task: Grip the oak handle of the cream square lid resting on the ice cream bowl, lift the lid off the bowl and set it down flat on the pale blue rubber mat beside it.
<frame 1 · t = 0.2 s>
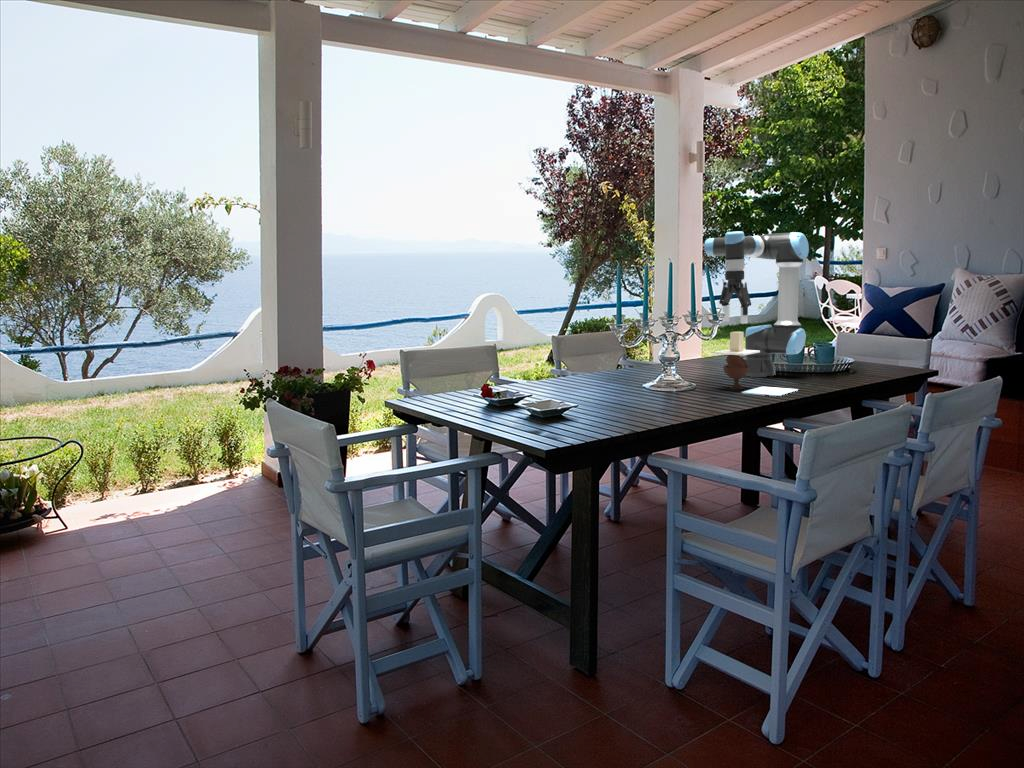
hand: (734, 322, 347), 28 cm above the table, tool pointing down, fingers open, 13 cm apart
mat: (770, 392, 343), on the table
ice cream bowl: (736, 389, 356), on the table, touching lid
lid: (736, 353, 354), point 15 cm above the table, touching ice cream bowl
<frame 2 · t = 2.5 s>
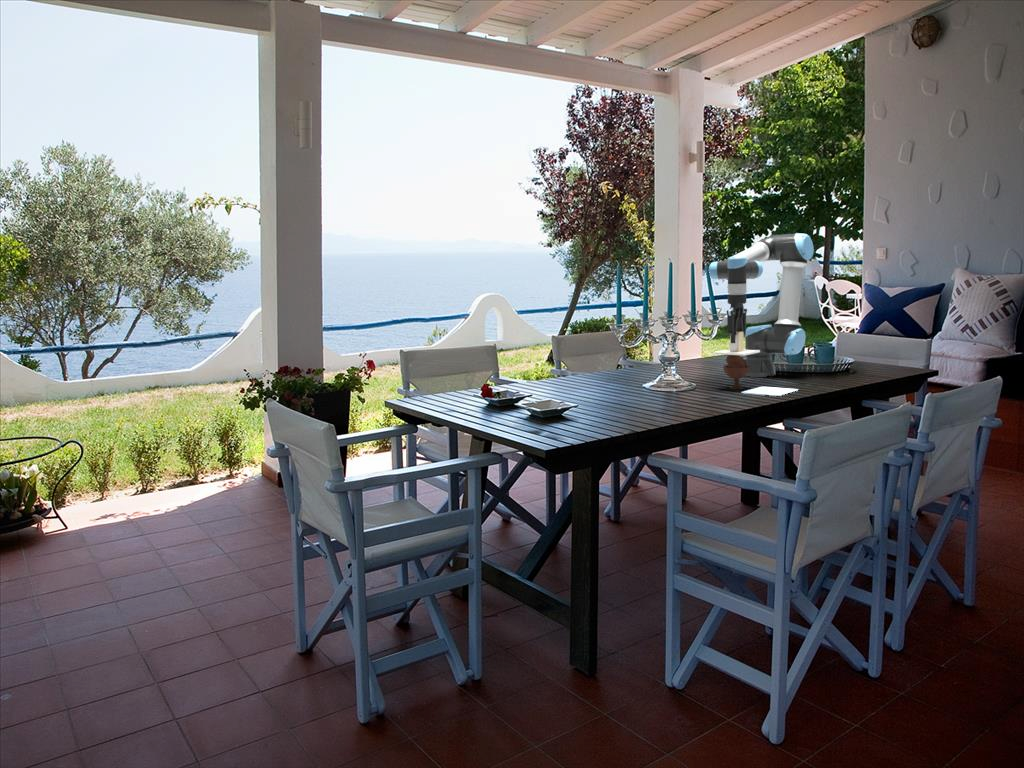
hand: (736, 350, 353), 16 cm above the table, tool pointing down, fingers closed on lid, 4 cm apart
lid: (736, 353, 354), point 15 cm above the table, touching gripper, ice cream bowl
everything else where it was.
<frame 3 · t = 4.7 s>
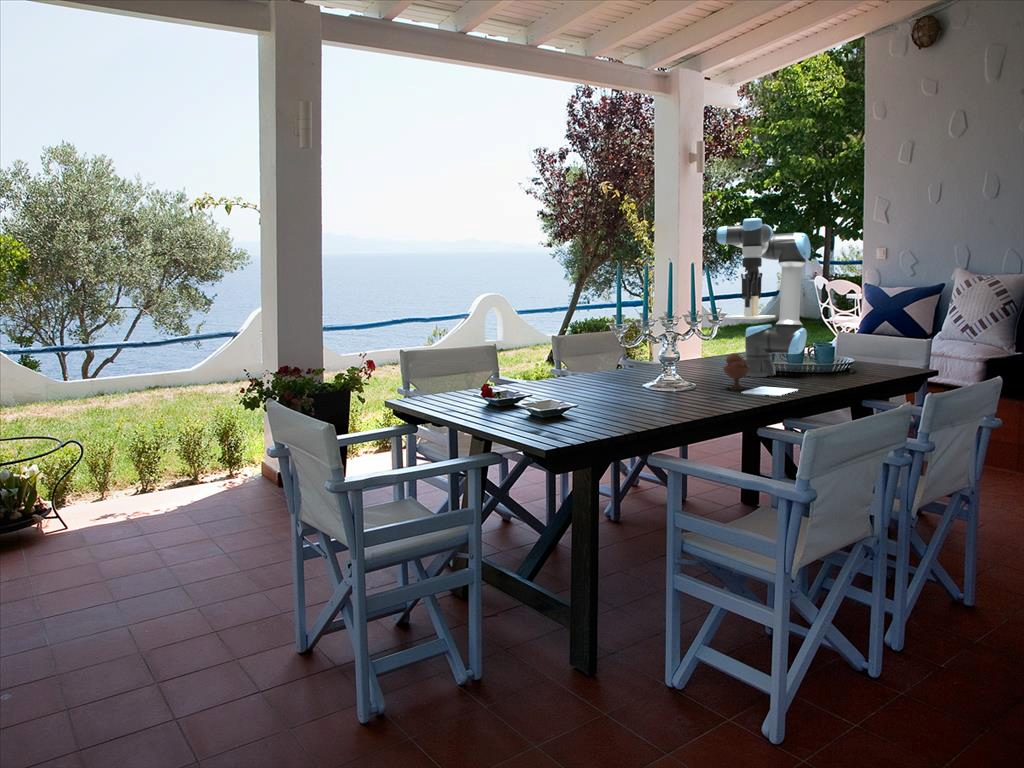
hand: (751, 315, 346), 31 cm above the table, tool pointing down, fingers closed on lid, 4 cm apart
ice cream bowl: (736, 389, 356), on the table
lid: (751, 317, 346), point 30 cm above the table, touching gripper
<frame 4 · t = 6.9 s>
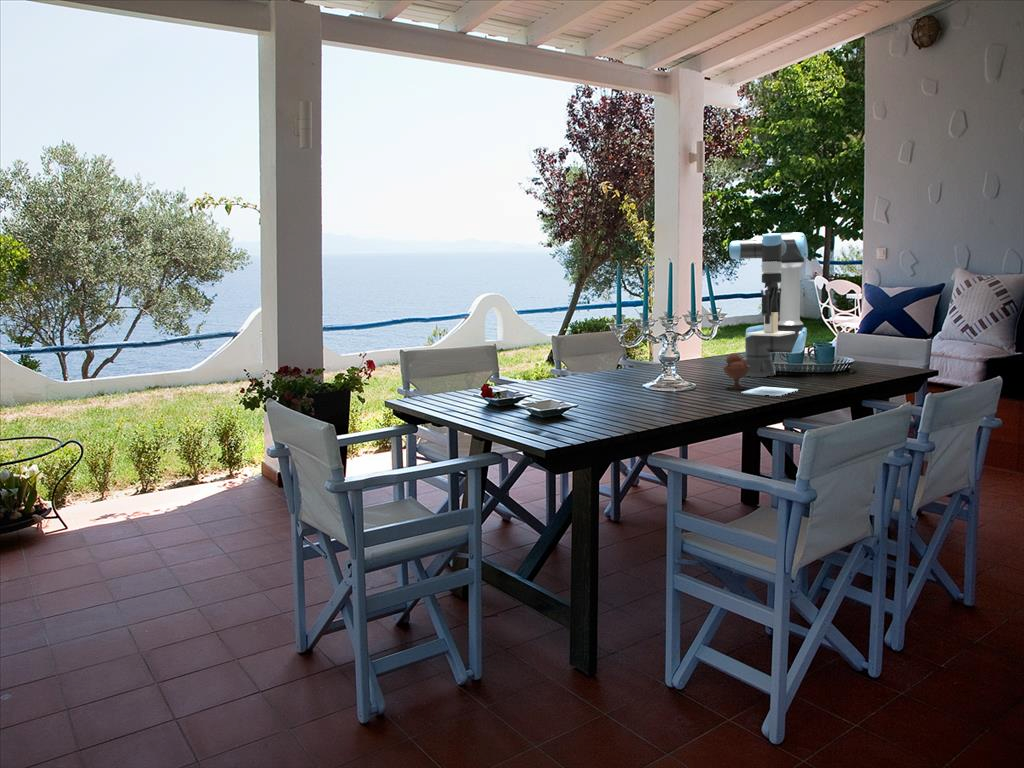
hand: (770, 331, 340), 25 cm above the table, tool pointing down, fingers closed on lid, 4 cm apart
lid: (770, 334, 340), point 24 cm above the table, touching gripper
everything else where it was.
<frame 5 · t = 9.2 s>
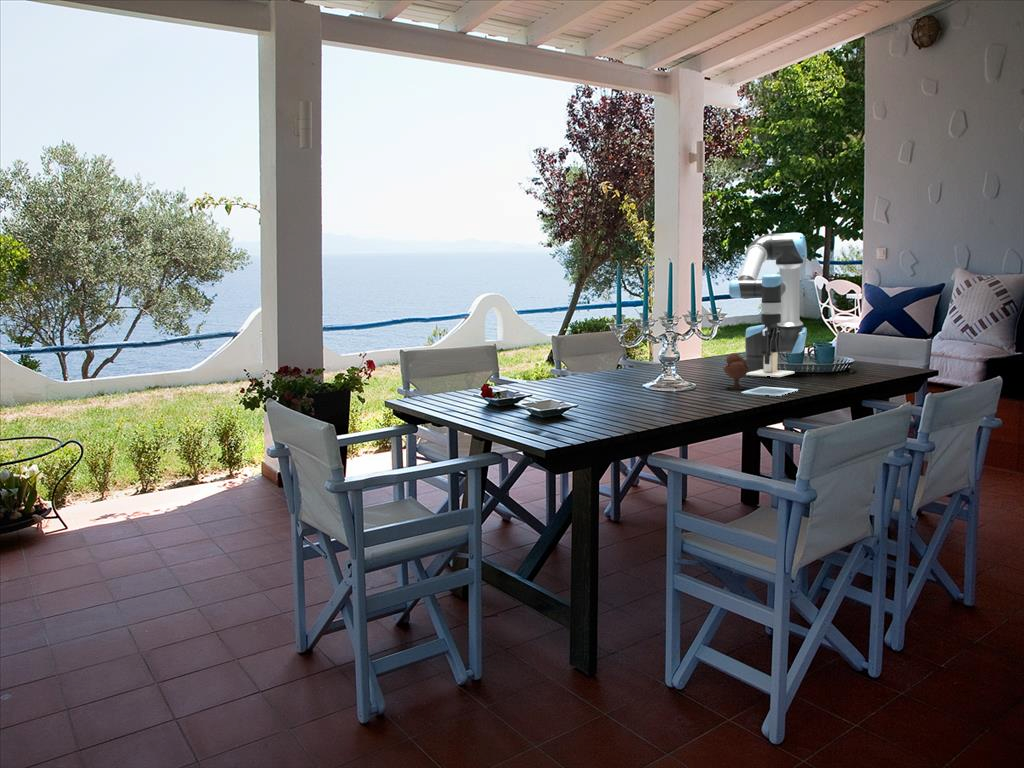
hand: (770, 371, 342), 9 cm above the table, tool pointing down, fingers closed on lid, 4 cm apart
lid: (770, 374, 342), point 7 cm above the table, touching gripper
everything else where it was.
when the fingers open (3 cm above the table, at t = 11.2 s): lid drops 1 cm, resting on mat.
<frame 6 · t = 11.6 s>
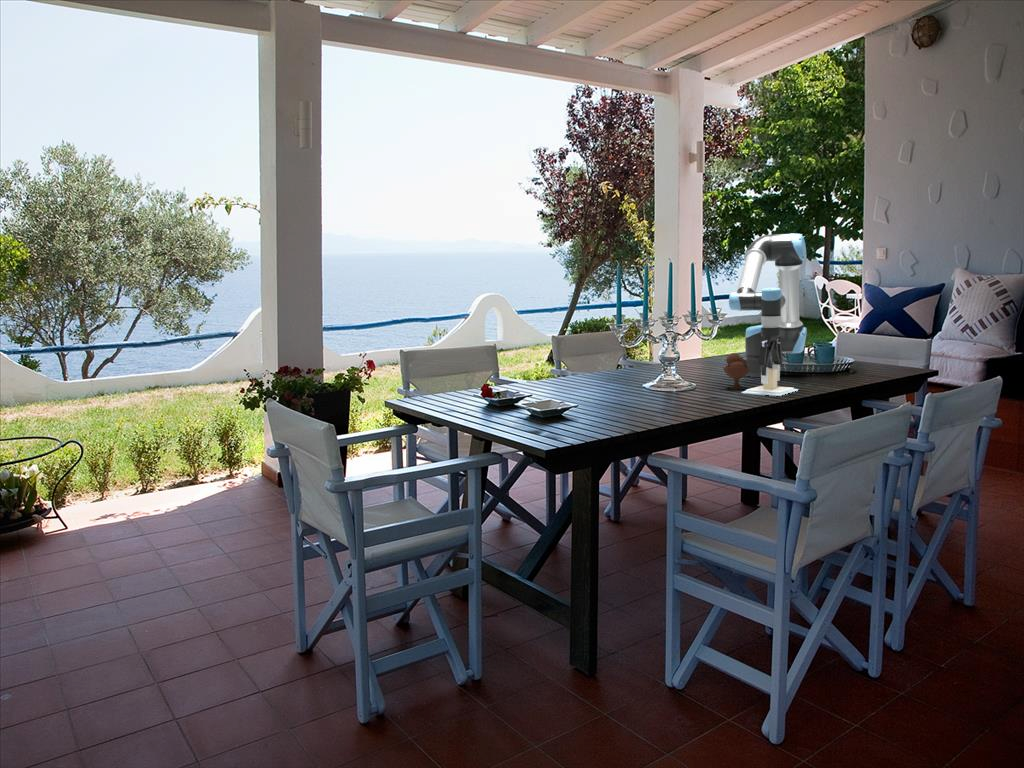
hand: (770, 381, 343), 4 cm above the table, tool pointing down, fingers open, 9 cm apart
lid: (770, 390, 343), point 1 cm above the table, touching mat
everything else where it was.
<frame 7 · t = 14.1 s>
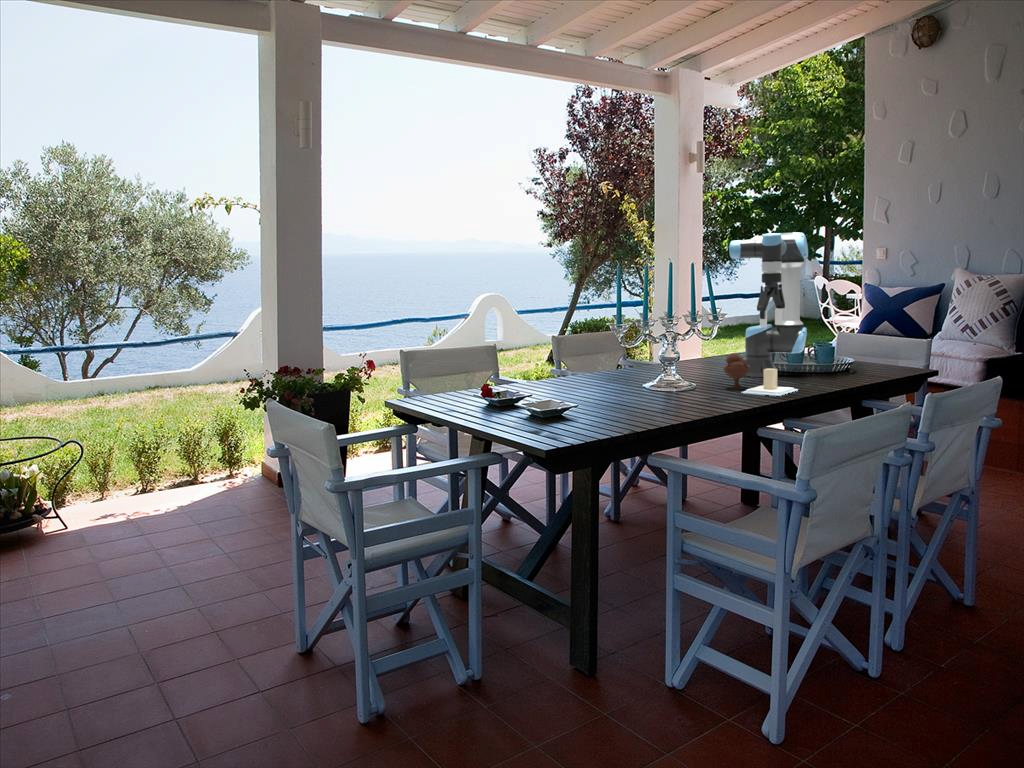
hand: (771, 326, 340), 27 cm above the table, tool pointing down, fingers open, 13 cm apart
nothing on the table moved.
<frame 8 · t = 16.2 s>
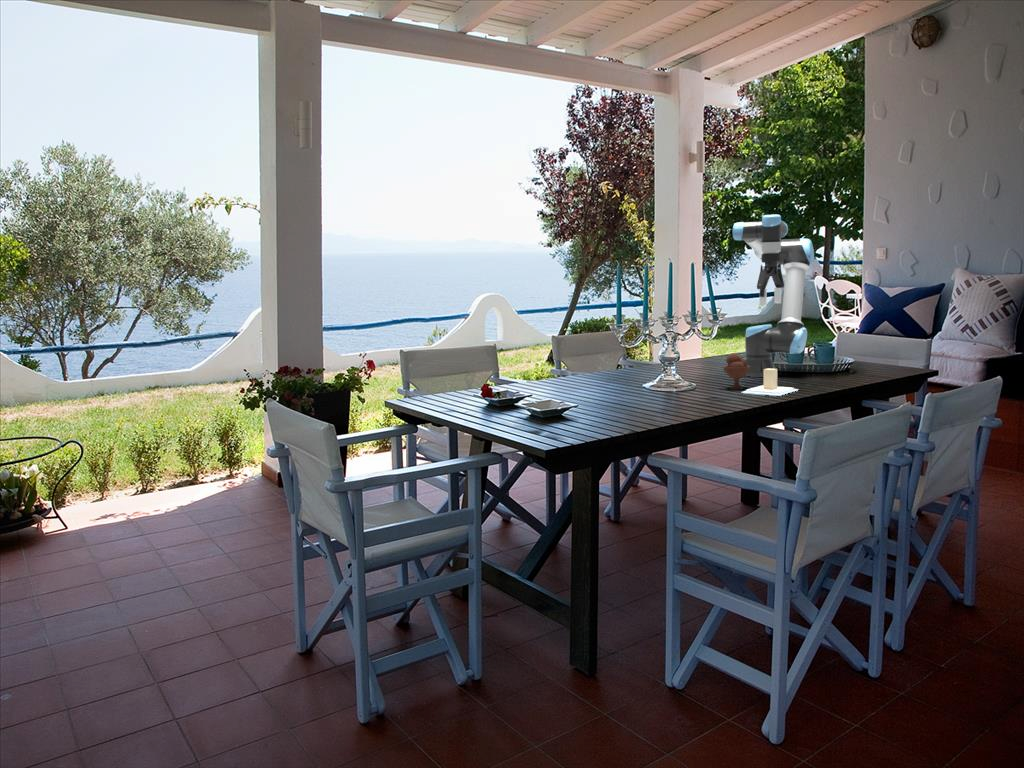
hand: (770, 304, 354), 35 cm above the table, tool pointing down, fingers open, 13 cm apart
nothing on the table moved.
at the end: lid inside the target area on the mat (0.0 cm from its centre), point 0.6 cm above the mat's base; lid tilted 0°; ice cream bowl moved 0.2 cm from its start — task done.
